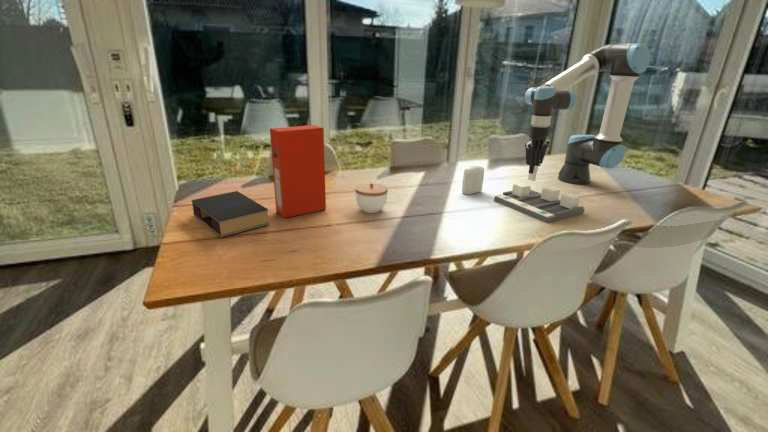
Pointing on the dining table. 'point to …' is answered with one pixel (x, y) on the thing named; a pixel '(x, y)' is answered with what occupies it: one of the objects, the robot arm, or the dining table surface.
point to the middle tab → (550, 194)
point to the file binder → (298, 169)
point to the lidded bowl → (371, 197)
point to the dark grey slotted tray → (538, 206)
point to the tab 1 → (521, 189)
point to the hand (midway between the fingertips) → (531, 180)
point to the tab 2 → (569, 200)
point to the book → (230, 213)
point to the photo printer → (473, 179)
